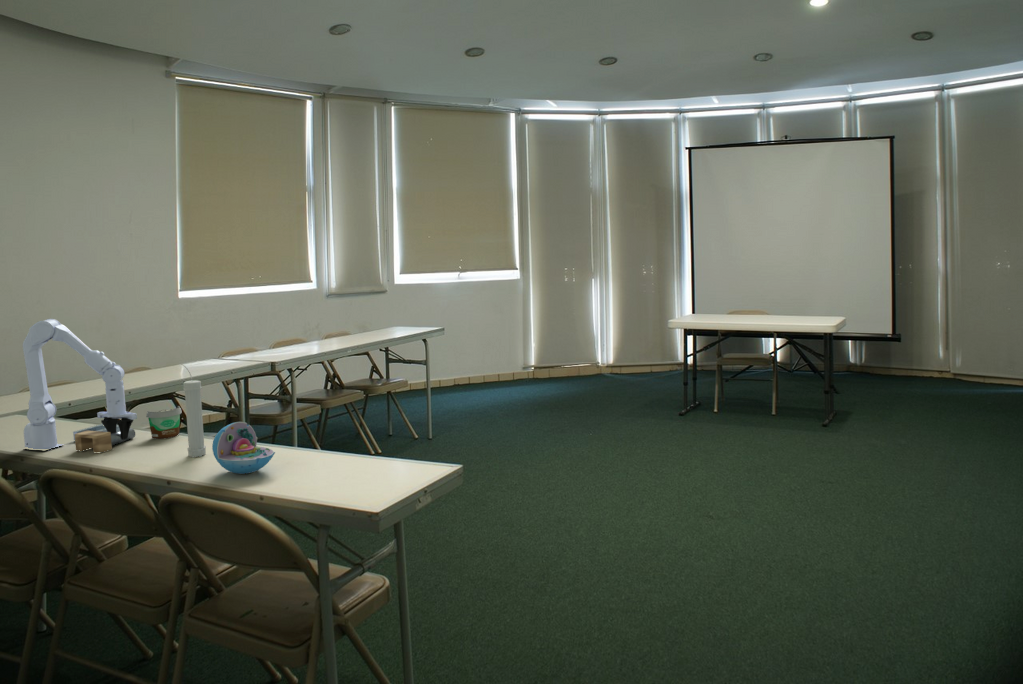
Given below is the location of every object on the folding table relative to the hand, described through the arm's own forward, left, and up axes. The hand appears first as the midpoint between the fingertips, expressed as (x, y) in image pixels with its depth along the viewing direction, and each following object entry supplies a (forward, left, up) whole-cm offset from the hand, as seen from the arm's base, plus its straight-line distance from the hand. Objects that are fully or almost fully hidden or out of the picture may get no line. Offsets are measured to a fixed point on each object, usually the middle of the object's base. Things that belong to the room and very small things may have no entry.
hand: (118, 438), depth 256 cm
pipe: (+38, -7, -2) cm, 39 cm away
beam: (0, -11, -1) cm, 11 cm away
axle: (+1, 0, -1) cm, 2 cm away
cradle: (-13, +4, -1) cm, 14 cm away
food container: (+11, +11, -2) cm, 16 cm away
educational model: (+66, -19, -2) cm, 69 cm away
